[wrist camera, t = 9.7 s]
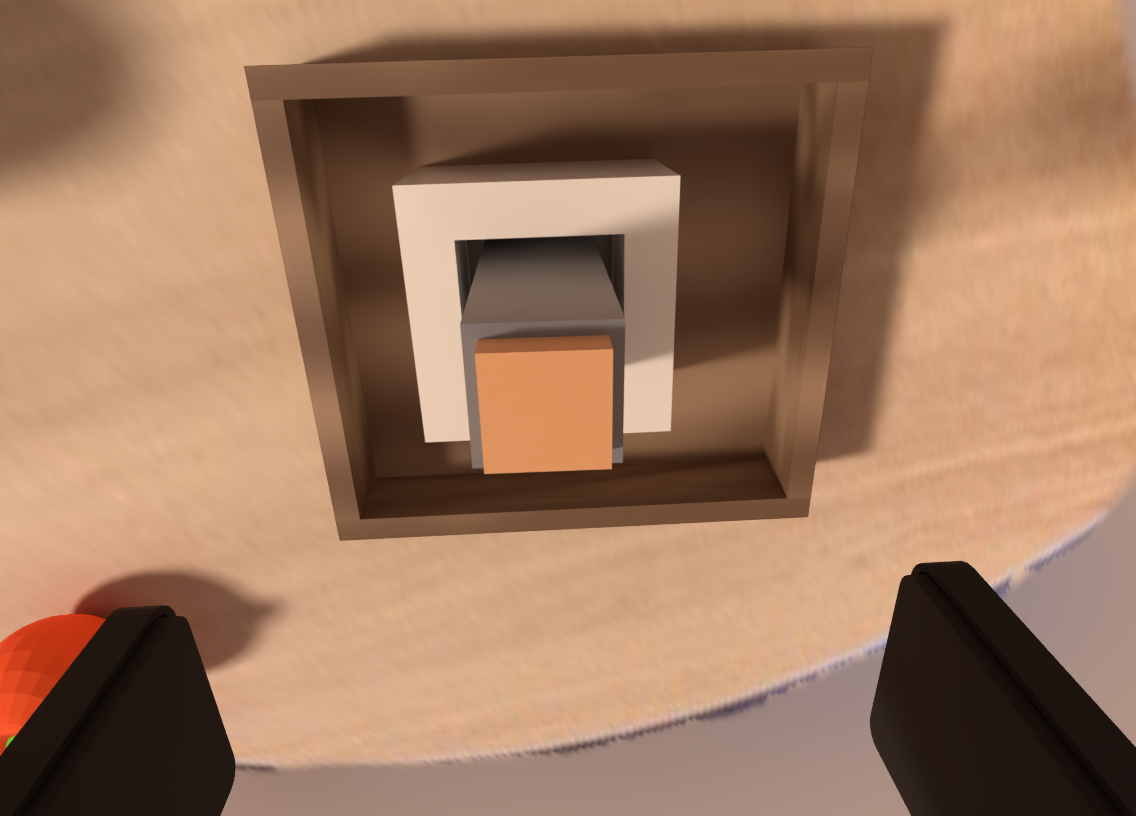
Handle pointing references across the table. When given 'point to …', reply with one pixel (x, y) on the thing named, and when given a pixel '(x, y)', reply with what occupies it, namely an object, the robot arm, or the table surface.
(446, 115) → the crate
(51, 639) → the clementine
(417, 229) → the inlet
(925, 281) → the table surface
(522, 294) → the plug
